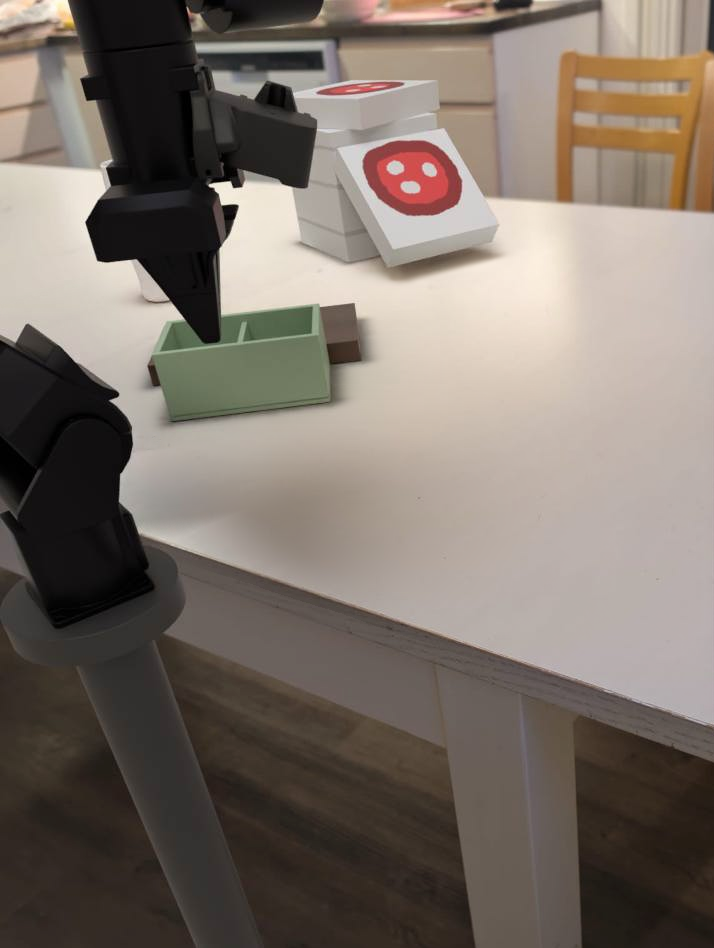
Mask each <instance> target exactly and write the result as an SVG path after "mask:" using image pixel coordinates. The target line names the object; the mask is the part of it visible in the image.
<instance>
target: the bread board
mask: <svg viewBox="0 0 714 948" xmlns="http://www.w3.org/2000/svg"><path fill="white" fill-rule="evenodd" d="M320 311H321V317H322V323H323V328H324V334H325V340H326V345H327V351H328V356H329V362H330V365H332V364H333V365H334V364H340V363H348V362H357V361H362V355H361V344H360V343H361V342H360V334H359V332H360V331H359V323H358V316H357V310H356V303H355V302H350V303H343V304H342V303H340V304H333V305H326V306H325V305H324V306H320ZM162 331H163V329H162V330H161V333H162ZM161 333H160V334H161ZM159 338H160V336H159V337H158V340H159ZM158 340H157V341H158ZM146 367H147V370H148V373H149V377H150V381H151V384H152V386H161V384H160V381H159V377H158V374H157V371H156V367H155V364H154V360H153V357H152V355H151V356H150V359H149V360H148V363H147V366H146Z"/></svg>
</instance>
